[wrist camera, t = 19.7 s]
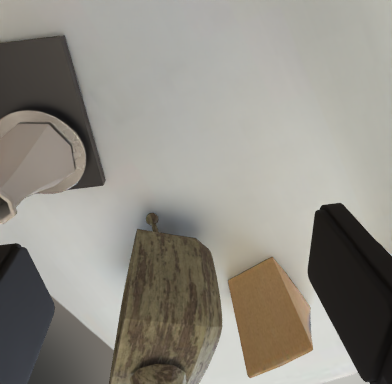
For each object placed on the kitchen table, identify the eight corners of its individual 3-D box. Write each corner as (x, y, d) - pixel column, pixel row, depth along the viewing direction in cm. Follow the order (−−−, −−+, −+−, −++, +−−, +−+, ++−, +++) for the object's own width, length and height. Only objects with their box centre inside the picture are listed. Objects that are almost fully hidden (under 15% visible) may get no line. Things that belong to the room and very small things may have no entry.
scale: (-101, 52, 29) (-127, 56, 26) (64, 33, 29) (54, 35, 27) (-22, 195, 37) (-36, 209, 35) (105, 180, 38) (101, 192, 35)
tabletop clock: (141, 201, 39) (110, 425, 18) (208, 212, 41) (252, 429, 20) (125, 279, 46) (88, 510, 25) (182, 286, 48) (195, 507, 27)
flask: (-14, 133, 30) (-87, 181, 22) (53, 111, 30) (6, 152, 21) (26, 192, 34) (-22, 254, 25) (87, 174, 33) (59, 231, 25)
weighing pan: (-26, 115, 30) (-28, 116, 29) (71, 104, 30) (70, 105, 29) (13, 196, 34) (12, 198, 34) (96, 186, 35) (95, 188, 34)
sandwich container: (269, 328, 55) (299, 423, 42) (225, 281, 48) (246, 378, 35) (312, 307, 53) (357, 401, 40) (273, 255, 46) (314, 349, 33)
